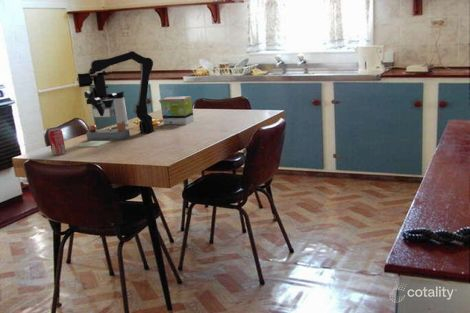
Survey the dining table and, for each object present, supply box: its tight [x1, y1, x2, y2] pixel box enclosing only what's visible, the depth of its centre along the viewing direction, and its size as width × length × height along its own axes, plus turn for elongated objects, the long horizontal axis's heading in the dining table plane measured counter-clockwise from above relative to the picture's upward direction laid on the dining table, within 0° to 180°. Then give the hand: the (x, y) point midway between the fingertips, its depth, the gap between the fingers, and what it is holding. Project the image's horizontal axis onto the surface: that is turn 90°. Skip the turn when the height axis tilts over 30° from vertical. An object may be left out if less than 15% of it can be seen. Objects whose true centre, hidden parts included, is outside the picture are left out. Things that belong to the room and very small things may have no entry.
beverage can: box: [47, 127, 67, 156], centre depth 244 cm, size 6×6×12 cm
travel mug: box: [112, 91, 129, 127], centre depth 303 cm, size 6×7×20 cm
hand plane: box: [85, 122, 131, 141], centre depth 271 cm, size 22×7×8 cm, turn 67°
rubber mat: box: [78, 140, 111, 148], centre depth 260 cm, size 12×10×1 cm
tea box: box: [160, 95, 195, 125], centre depth 295 cm, size 15×10×15 cm
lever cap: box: [92, 106, 116, 118], centre depth 268 cm, size 10×5×5 cm, turn 67°
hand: (104, 115), depth 269 cm, fingers closed on lever cap, 5 cm apart
